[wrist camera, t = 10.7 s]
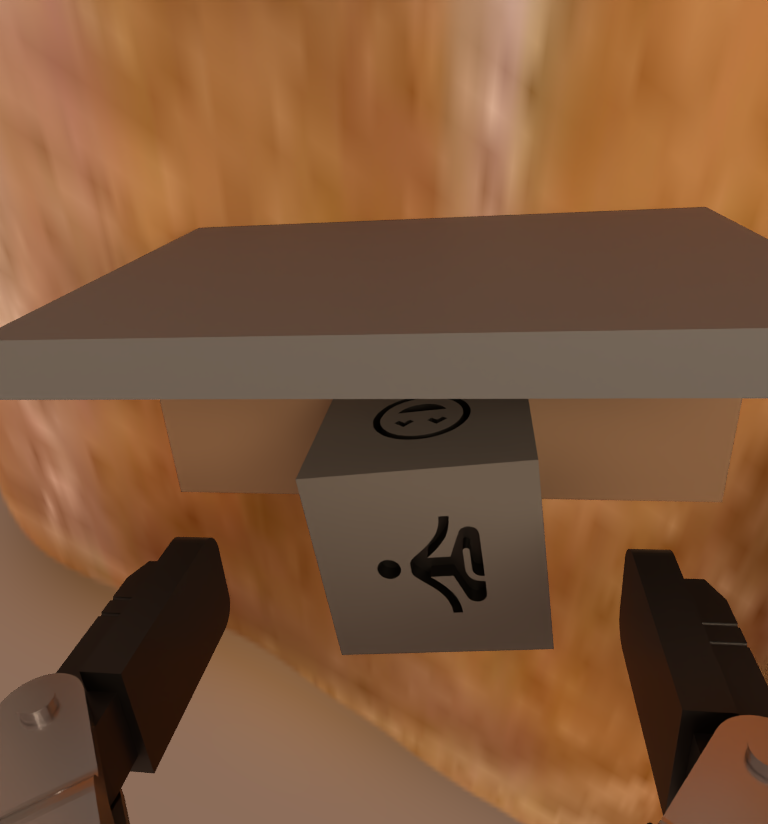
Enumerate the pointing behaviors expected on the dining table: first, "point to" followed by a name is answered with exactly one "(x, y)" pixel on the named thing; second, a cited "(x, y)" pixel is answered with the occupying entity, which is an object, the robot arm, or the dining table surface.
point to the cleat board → (428, 340)
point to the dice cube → (429, 525)
